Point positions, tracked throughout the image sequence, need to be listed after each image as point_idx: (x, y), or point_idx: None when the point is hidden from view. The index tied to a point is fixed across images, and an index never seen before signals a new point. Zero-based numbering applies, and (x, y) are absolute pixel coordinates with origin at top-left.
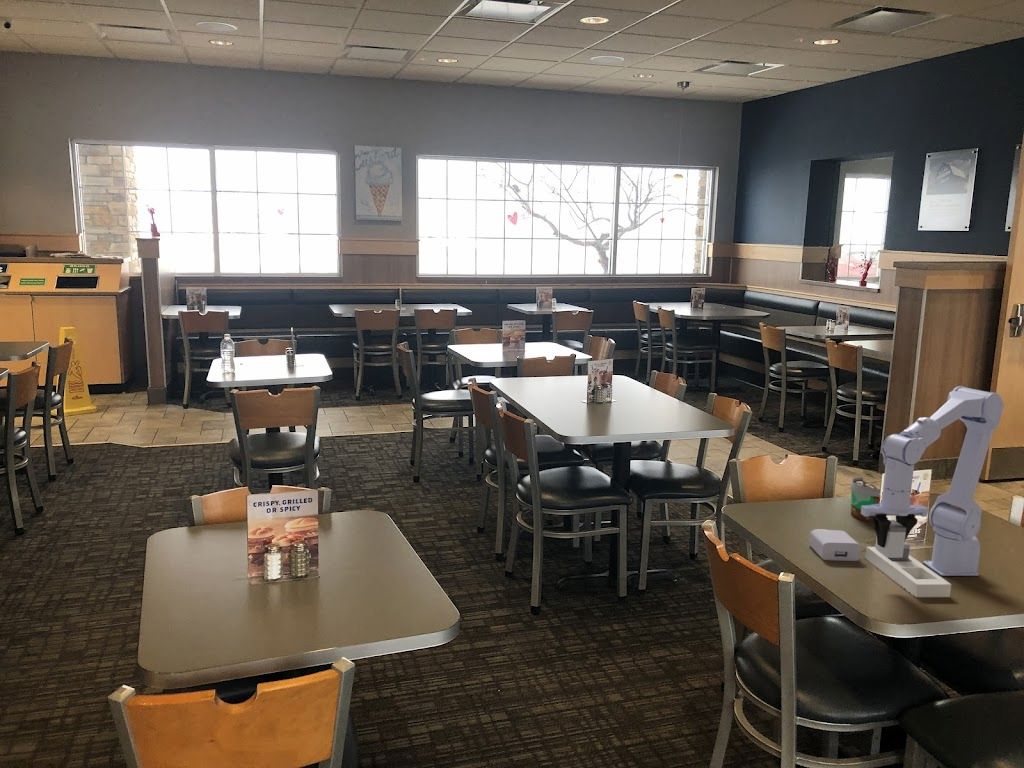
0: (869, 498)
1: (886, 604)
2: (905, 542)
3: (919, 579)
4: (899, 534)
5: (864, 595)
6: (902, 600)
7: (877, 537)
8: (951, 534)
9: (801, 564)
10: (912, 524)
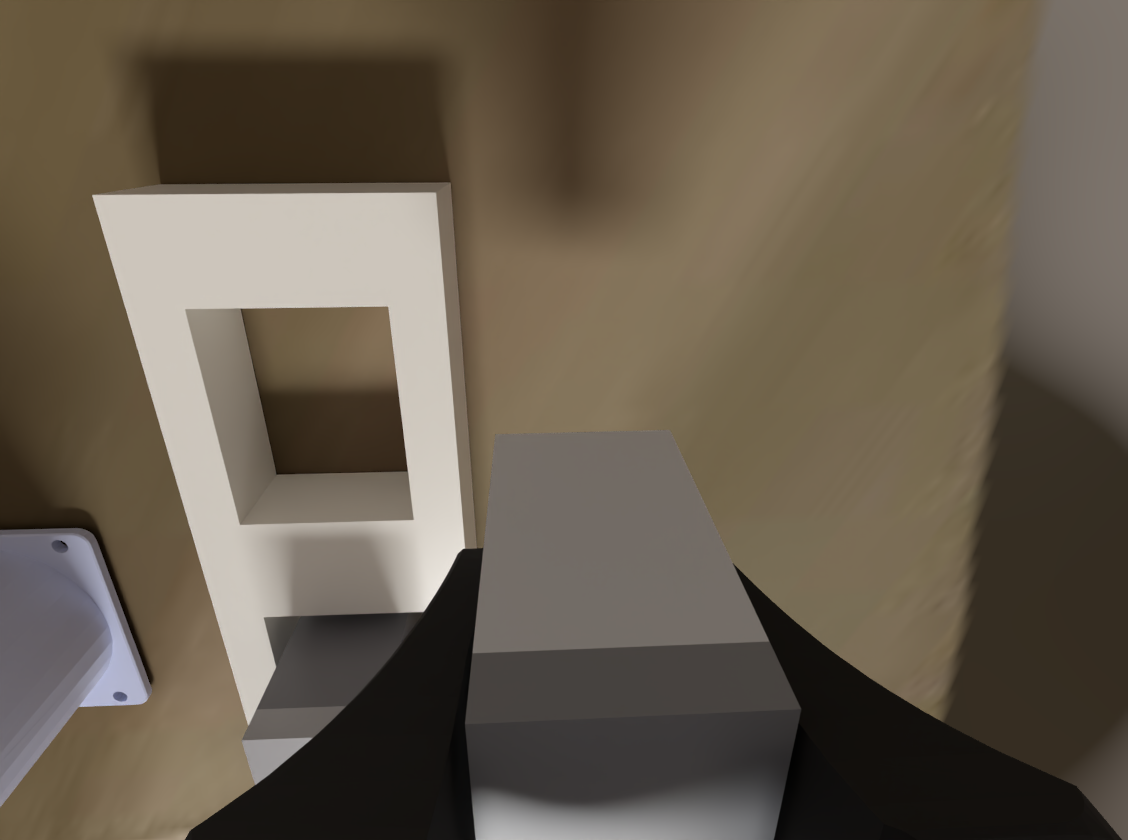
0: None
1: (764, 42)
2: (266, 772)
3: (360, 300)
4: (584, 618)
5: (832, 217)
6: (585, 123)
7: None
8: None
9: (923, 648)
10: (306, 808)
